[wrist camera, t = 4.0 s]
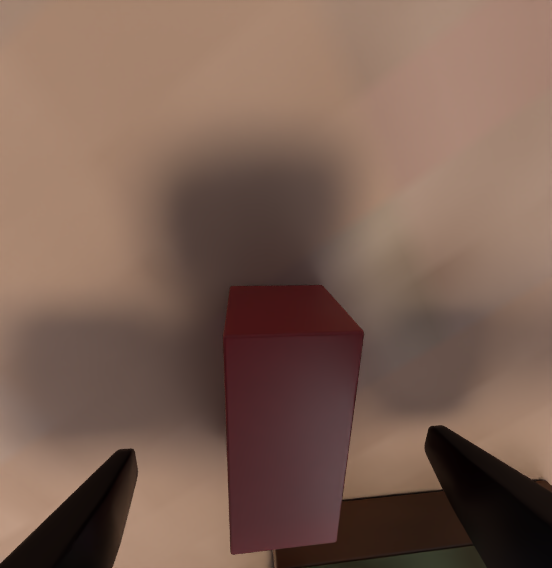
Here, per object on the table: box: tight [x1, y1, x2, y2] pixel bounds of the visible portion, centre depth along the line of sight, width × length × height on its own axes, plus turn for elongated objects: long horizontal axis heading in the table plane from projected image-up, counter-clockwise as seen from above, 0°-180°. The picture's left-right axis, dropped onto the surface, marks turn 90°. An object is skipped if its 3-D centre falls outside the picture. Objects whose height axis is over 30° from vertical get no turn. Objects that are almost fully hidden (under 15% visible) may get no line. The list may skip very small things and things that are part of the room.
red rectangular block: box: [223, 285, 364, 555], centre depth 10 cm, size 4×8×4 cm, turn 178°
